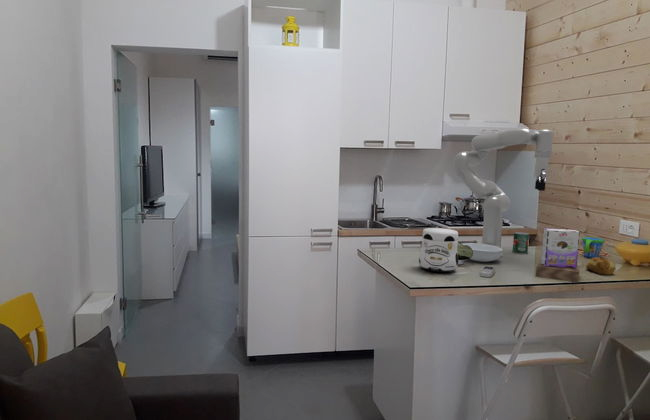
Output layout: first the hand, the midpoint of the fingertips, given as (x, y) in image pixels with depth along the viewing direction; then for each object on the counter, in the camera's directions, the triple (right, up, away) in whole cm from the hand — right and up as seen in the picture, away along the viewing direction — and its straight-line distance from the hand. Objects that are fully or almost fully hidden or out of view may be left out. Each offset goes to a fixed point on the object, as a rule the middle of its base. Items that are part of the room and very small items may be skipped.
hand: (539, 189), depth 253 cm
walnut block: (-2, -40, -24) cm, 47 cm away
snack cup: (+38, -36, +24) cm, 57 cm away
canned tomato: (+1, -34, +27) cm, 43 cm away
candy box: (-2, -35, -24) cm, 43 cm away
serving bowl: (-29, -35, +3) cm, 46 cm away
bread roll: (+22, -39, -13) cm, 47 cm away
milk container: (-55, -37, -23) cm, 70 cm away
